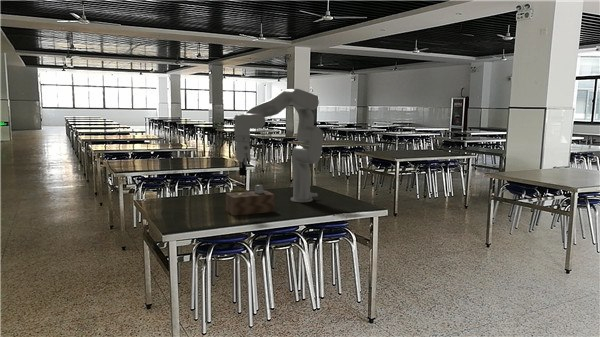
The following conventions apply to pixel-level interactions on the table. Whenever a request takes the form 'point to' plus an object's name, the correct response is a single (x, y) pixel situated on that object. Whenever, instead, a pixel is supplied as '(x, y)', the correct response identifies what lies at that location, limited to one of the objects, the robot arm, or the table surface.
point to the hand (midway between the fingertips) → (242, 175)
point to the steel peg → (258, 189)
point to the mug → (238, 191)
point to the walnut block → (249, 203)
